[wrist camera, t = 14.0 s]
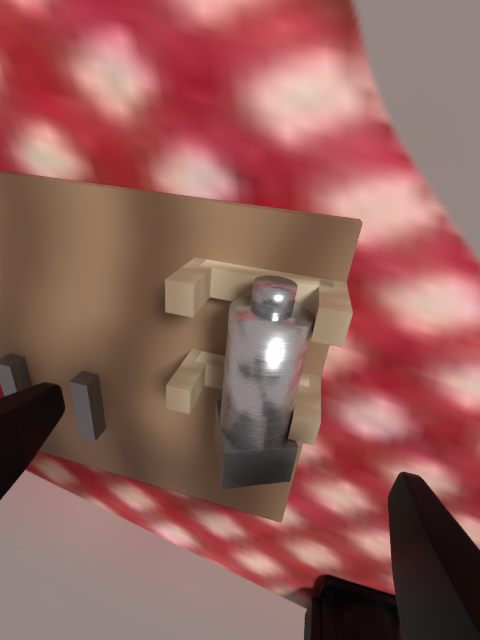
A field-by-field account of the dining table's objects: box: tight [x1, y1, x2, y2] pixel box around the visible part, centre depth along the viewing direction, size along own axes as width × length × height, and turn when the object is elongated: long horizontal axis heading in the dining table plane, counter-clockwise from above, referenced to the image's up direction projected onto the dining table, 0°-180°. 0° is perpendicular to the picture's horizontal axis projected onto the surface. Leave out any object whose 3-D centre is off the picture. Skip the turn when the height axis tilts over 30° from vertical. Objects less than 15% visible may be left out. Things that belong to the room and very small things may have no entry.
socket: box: [0, 353, 106, 441], centre depth 18 cm, size 6×4×1 cm
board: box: [0, 171, 362, 523], centre depth 17 cm, size 18×18×1 cm
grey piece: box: [214, 275, 314, 489], centre depth 12 cm, size 8×3×3 cm, turn 175°
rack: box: [165, 258, 353, 445], centre depth 12 cm, size 6×6×3 cm
